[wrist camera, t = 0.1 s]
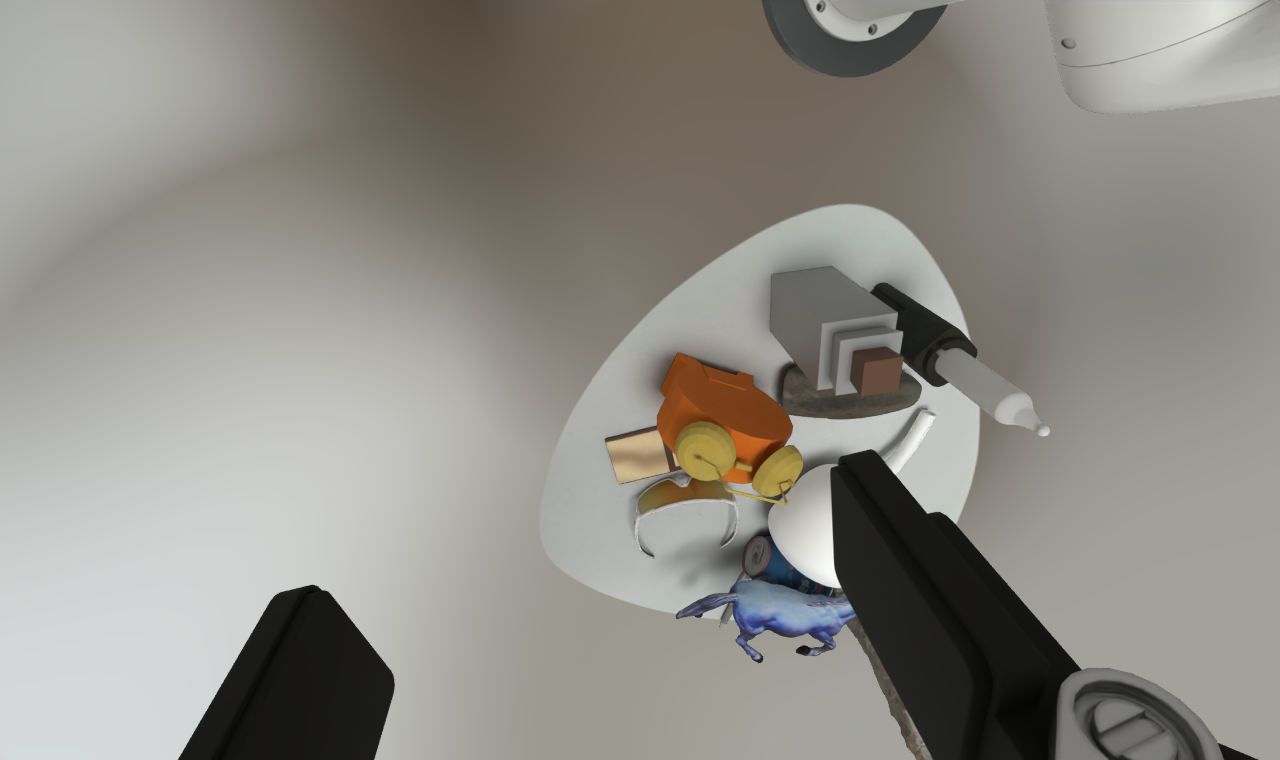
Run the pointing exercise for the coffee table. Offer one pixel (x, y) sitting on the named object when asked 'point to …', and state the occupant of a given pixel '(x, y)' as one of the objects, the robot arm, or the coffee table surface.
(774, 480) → the alarm clock
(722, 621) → the pen
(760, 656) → the toy
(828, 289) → the perfume bottle
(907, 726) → the statue
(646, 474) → the brown picture frame
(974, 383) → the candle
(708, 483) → the sunglasses
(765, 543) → the soda can
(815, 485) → the stomach
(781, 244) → the coffee table surface
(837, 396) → the decorative stone
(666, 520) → the coffee table surface
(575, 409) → the coffee table surface
